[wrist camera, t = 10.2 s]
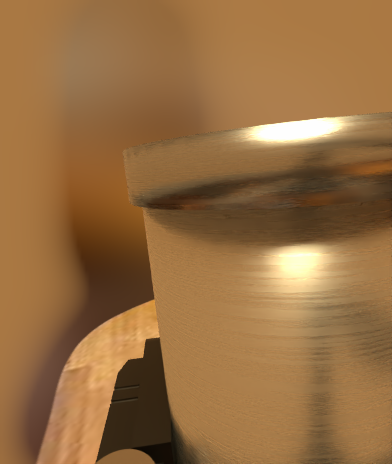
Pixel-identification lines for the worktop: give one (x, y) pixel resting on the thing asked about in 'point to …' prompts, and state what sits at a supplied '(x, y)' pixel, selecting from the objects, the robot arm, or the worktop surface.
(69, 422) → the worktop surface
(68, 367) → the worktop surface
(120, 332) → the worktop surface
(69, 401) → the worktop surface
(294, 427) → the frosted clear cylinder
